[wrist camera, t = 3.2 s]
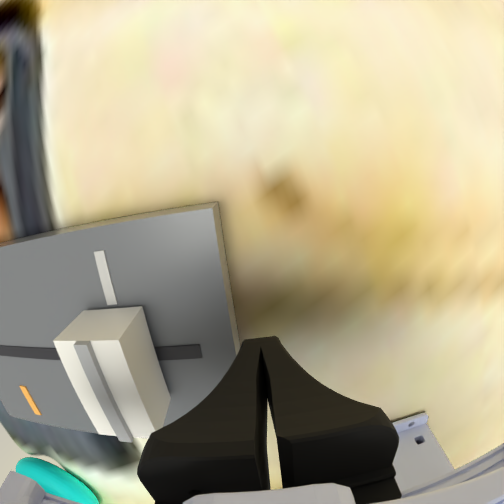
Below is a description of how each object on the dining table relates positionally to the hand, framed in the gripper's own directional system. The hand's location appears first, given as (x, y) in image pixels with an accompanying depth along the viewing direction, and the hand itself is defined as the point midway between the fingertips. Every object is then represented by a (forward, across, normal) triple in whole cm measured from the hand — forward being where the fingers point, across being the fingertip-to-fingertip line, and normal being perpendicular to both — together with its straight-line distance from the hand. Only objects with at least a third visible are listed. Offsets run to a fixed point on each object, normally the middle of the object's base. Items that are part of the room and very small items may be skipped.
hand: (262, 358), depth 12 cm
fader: (+1, +6, 0) cm, 6 cm away
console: (+4, +10, 0) cm, 11 cm away
